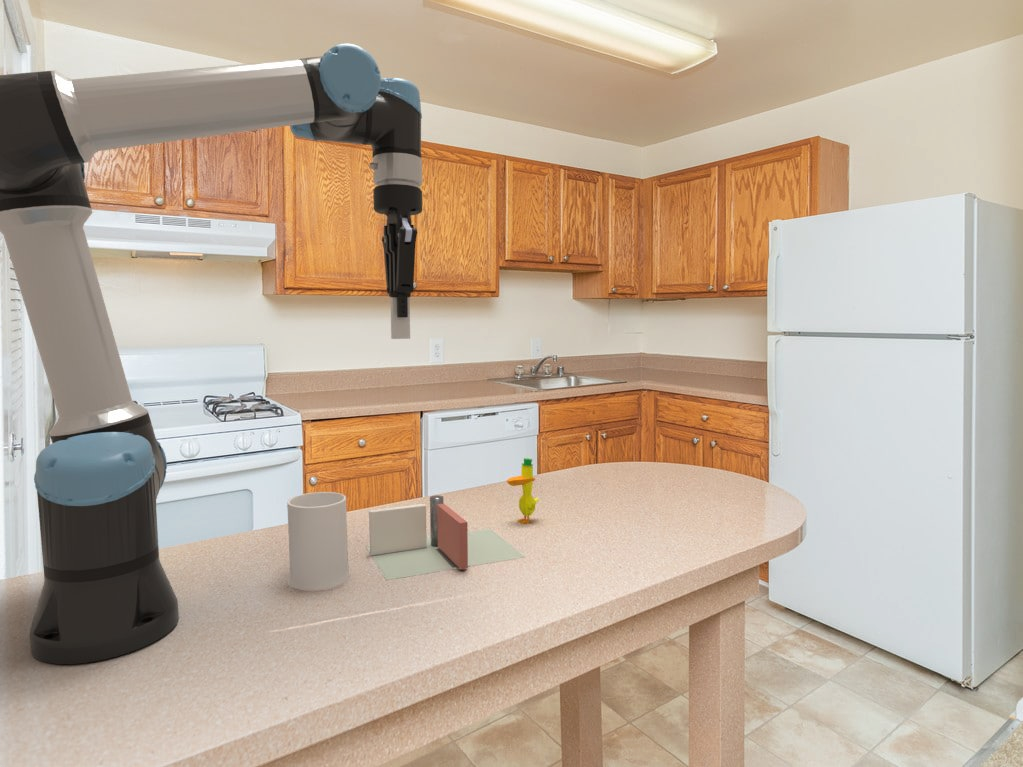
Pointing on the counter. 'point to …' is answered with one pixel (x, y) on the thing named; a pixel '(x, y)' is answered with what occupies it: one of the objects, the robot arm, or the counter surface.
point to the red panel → (452, 535)
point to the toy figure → (525, 490)
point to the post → (434, 518)
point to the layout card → (445, 556)
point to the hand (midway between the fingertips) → (400, 338)
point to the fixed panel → (397, 529)
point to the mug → (318, 541)
